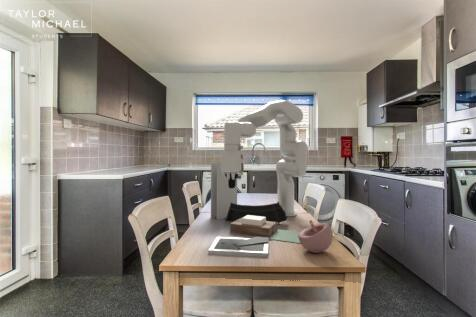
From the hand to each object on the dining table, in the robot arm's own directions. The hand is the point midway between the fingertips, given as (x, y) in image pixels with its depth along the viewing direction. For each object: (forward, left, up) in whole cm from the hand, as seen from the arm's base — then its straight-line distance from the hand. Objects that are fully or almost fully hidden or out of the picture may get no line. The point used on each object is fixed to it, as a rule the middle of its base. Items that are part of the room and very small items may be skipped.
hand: (231, 187), depth 130 cm
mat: (0, +28, -19) cm, 33 cm away
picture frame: (+22, +14, -20) cm, 33 cm away
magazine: (-14, +7, -19) cm, 25 cm away
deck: (0, +11, -19) cm, 22 cm away
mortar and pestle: (+14, +40, -19) cm, 47 cm away
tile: (0, +11, -15) cm, 19 cm away
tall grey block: (-20, -14, -19) cm, 31 cm away
